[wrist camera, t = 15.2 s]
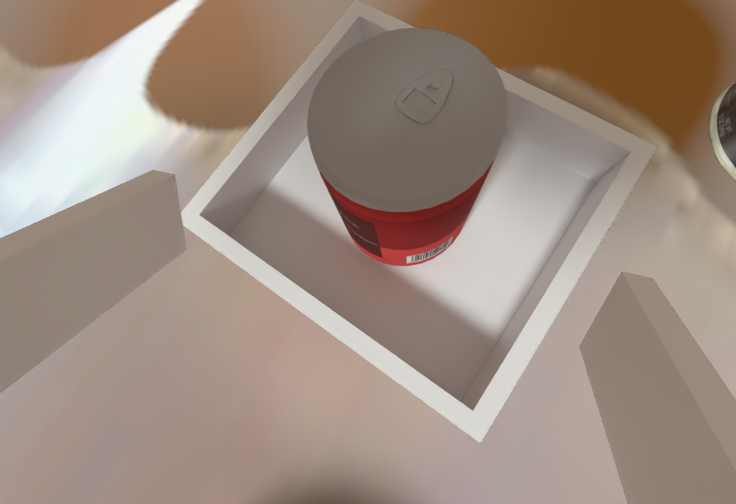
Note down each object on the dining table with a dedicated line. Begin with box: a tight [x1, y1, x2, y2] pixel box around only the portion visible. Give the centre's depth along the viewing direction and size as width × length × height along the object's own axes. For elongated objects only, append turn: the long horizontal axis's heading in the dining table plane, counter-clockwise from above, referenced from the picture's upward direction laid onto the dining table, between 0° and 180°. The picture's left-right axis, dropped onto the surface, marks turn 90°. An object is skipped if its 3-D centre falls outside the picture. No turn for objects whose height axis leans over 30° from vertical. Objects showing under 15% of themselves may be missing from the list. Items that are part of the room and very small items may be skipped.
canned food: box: [307, 28, 508, 266], centre depth 20 cm, size 8×8×11 cm
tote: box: [181, 0, 658, 443], centre depth 24 cm, size 20×18×5 cm
